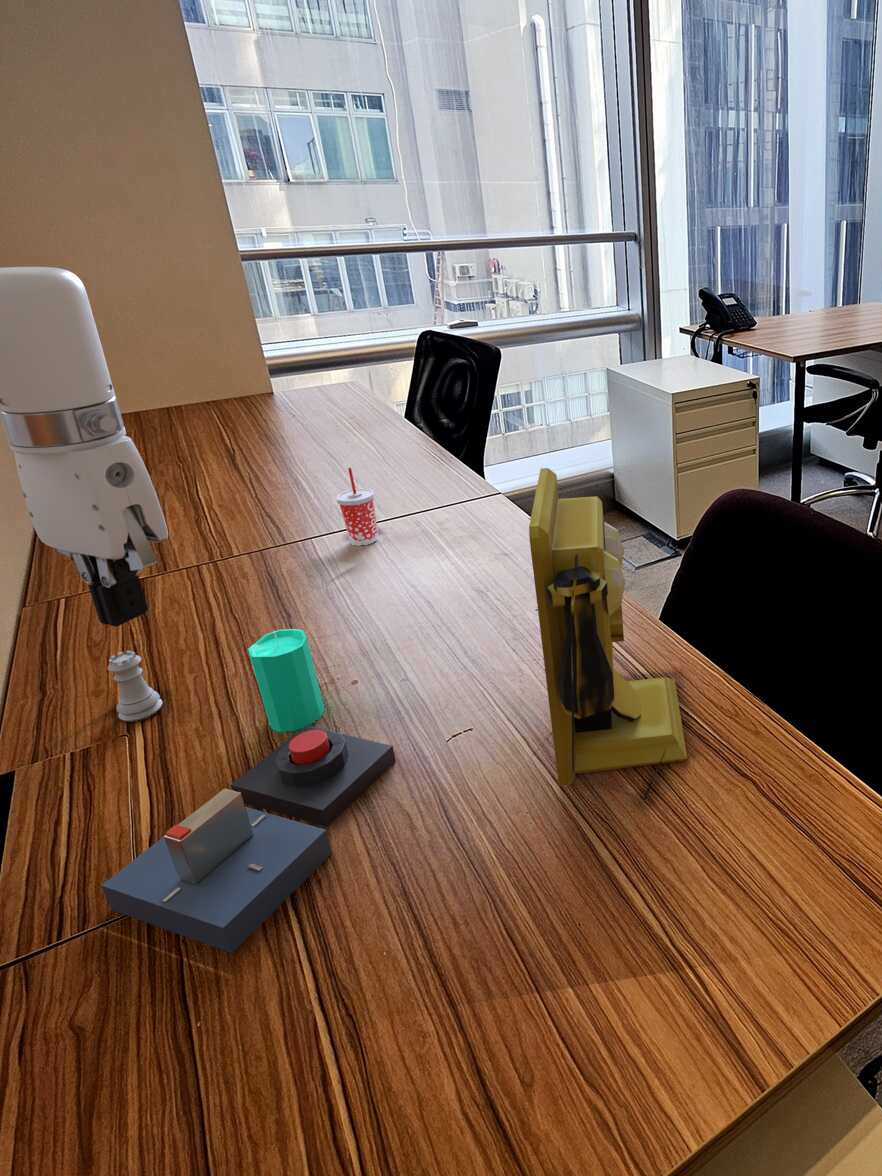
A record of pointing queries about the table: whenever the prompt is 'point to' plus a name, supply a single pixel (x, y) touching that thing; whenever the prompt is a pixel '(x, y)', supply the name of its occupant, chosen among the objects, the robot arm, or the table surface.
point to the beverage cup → (359, 514)
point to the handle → (208, 835)
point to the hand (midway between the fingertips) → (125, 617)
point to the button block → (315, 778)
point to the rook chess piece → (133, 688)
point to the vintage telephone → (592, 645)
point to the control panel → (222, 883)
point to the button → (309, 747)
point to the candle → (287, 679)
